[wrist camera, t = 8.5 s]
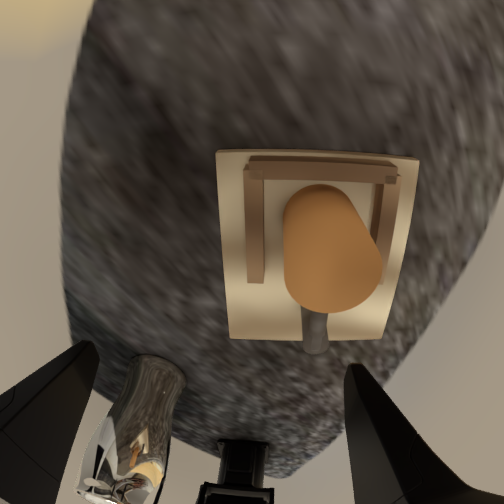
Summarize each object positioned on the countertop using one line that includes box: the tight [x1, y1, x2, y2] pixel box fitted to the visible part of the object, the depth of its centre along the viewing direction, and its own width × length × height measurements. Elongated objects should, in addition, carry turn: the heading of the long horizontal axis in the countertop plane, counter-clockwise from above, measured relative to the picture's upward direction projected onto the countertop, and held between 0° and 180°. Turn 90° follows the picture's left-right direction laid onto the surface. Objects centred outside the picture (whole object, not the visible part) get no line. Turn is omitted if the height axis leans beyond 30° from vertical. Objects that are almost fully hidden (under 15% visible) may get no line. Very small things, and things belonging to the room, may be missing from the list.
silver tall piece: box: [73, 355, 186, 504], centre depth 22 cm, size 7×7×15 cm
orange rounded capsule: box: [283, 184, 383, 313], centre depth 16 cm, size 4×4×6 cm
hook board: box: [216, 149, 419, 355], centre depth 19 cm, size 14×12×5 cm
